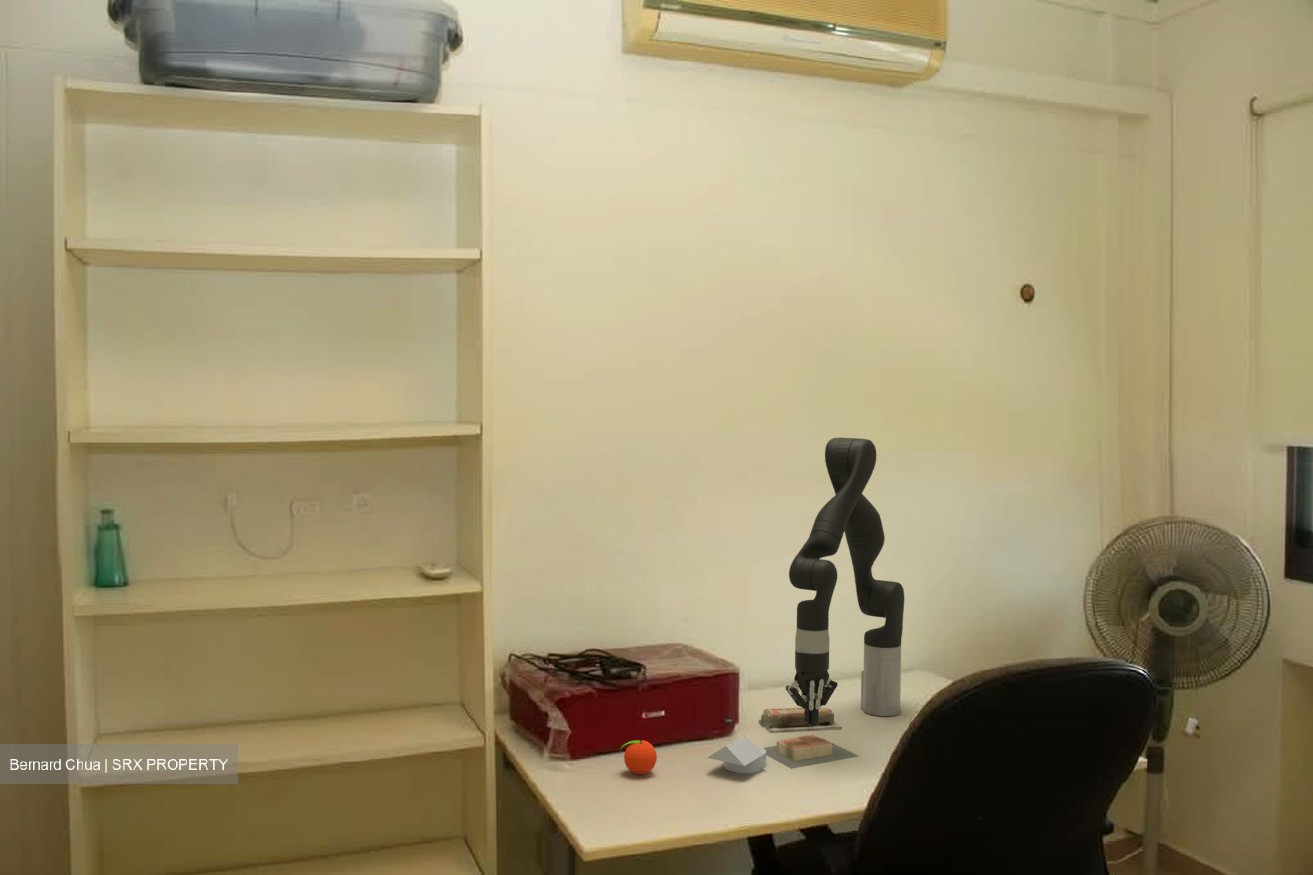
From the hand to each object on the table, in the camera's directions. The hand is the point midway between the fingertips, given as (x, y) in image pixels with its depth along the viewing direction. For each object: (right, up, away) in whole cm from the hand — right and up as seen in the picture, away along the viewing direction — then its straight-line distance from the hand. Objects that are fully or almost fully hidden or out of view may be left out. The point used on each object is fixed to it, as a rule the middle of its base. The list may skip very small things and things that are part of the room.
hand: (811, 725), depth 244 cm
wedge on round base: (-16, -7, -9) cm, 20 cm away
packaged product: (0, -6, +20) cm, 21 cm away
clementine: (-38, -7, -13) cm, 41 cm away
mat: (-1, -7, 0) cm, 7 cm away
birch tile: (+3, -5, +2) cm, 6 cm away
